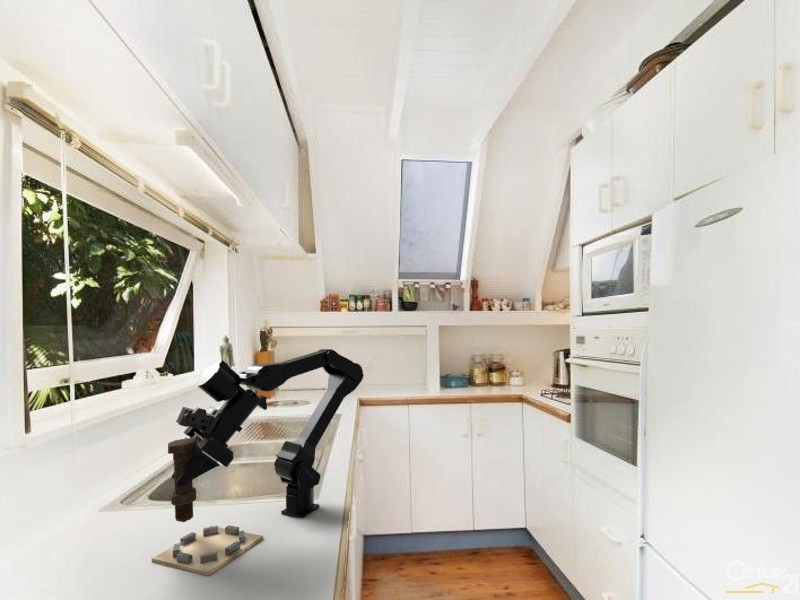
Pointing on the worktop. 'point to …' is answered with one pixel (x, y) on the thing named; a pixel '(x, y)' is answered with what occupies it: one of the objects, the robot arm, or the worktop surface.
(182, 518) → the bolt
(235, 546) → the castellated ring
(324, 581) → the worktop surface
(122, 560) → the worktop surface
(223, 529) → the tan flat square board
